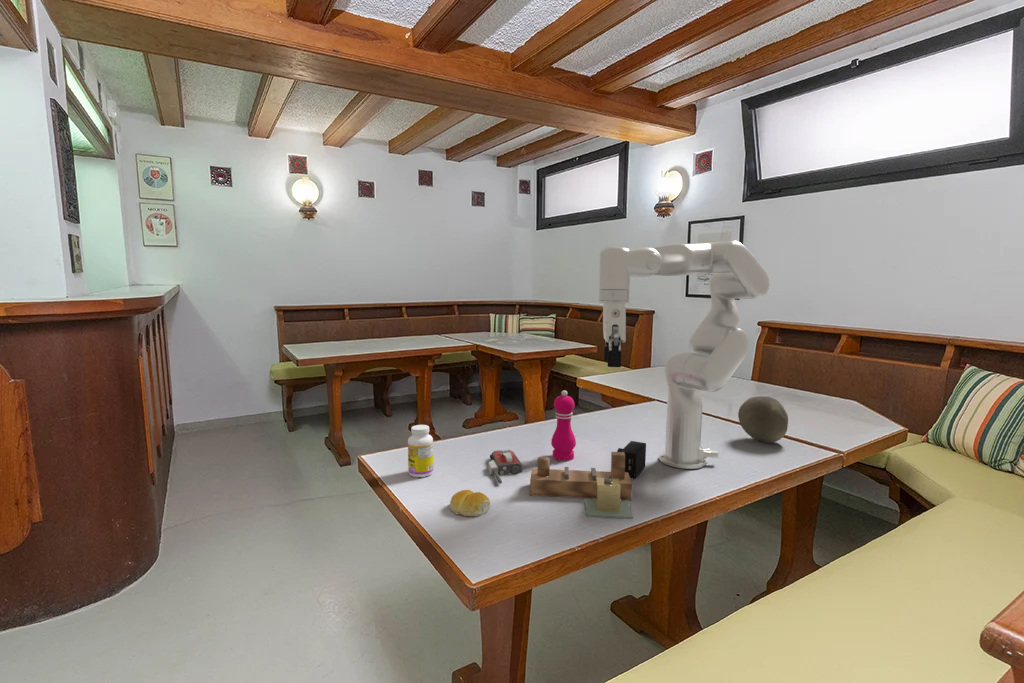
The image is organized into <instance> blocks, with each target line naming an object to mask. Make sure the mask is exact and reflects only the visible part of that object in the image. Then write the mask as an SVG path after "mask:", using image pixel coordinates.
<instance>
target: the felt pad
mask: <svg viewBox="0 0 1024 683" xmlns="http://www.w3.org/2000/svg"><path fill="white" fill-rule="evenodd" d="M584 503H585V504H584V506H585V515H586V517H588V518H589V517H590V518H611V519H612V518H613V519H627V518H628V519H629V518H631V519H630V520H633V519H634V515H633V512H632V509H631V505H630V502H629V500H620V512H604V511H597V508H596V498H584Z"/></svg>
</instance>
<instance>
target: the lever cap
mask: <svg viewBox="0 0 1024 683" xmlns="http://www.w3.org/2000/svg"><path fill="white" fill-rule="evenodd" d="M620 489H621V486H620V482H619V479H618V478H596V498H595V499H596V508H597V511H604V512H620V501H621V500H620Z"/></svg>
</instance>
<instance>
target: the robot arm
mask: <svg viewBox="0 0 1024 683" xmlns="http://www.w3.org/2000/svg"><path fill="white" fill-rule="evenodd" d="M704 274H712V276H711V278H710V280H709V292H710V300H711V304H710V309H709V311H708V312H707V314H706V316H705V317H704V318H703V320H702V321H701V323H700V324H699V325H698V327H697V328H696V329H695V331H694V332H693V333H692V335H691V336H690V339H689V341H688V342H689V343H688V344H689V345H688V346H689V348H690V350H691V352H687V351H679V352H674V353H673V354H671V355H670V356H668V358H667V359H666V361H665V364H664V376H665V383H666V394H667V396H666V398H667V400H666V416H665V417H666V420H665V421H666V422H665V424H666V425H665V441H664V442H665V447H664V449H665V450H664V451H662V452H660V454H659V455H658V456H659V458H658V459H659V461H660V462H661V463H662V464H664V465H667V466H669V467H672V468H677V469H684V470H685V469H687V470H693V469H695V470H697V469H701V468H703V467H705V465H706V463H707V462H706V459H707V458H712V459H714V458H715V459H718V458H719V452H718V451H717V450H711V448H702V446H701V441H702V427H703V426H702V424H703V422H702V421H703V406H704V404H703V398H702V394H701V392H700V391H702V392H706V393H707V392H708V393H717V392H718V391H720V390H721V389H723V388H724V387H725V386H726V385H727V383H728V382H729V381H730V379H731V378H732V376H733V374H734V373H735V371H737V369H738V368H739V366H740V365H741V363H742V362H743V361H744V359H745V357H746V355H747V352H748V350H749V338H748V335H747V333H746V332H745V330H743V329H742V328H739V327H737V326H738V324H739V321H740V313H739V308H738V307H737V303H736V299H737V300H739V299H740V300H742V299H743V300H756V299H757V300H758V299H760V298H762V297H764V296H765V295H766V294H767V293H768V291H769V287H770V278H769V275H768V273H767V271H766V270H765V268H764V267H763V265H761V263H760V262H759V260H758V259H757V258H756V256H754V254H753V253H752V252H751V251H750V250H749V249H748V248H747V247H746V246H745V245H744V244H742V242H740V241H737V240H728V241H717V242H715V241H714V242H698V243H695V242H694V243H675V244H668V245H662V246H656V247H650V246H649V247H647V246H644V247H643V246H642V247H633V248H632V247H631V248H630V247H629V248H627V247H623V246H611V247H605V248H602V249H601V251H600V253H599V278H598V279H599V280H598V281H599V282H598V284H599V285H598V287H599V288H598V303H601V304H603V305H602V306H603V308H602V310H603V311H602V313H603V314H602V329H603V333H602V334H603V339H604V340H605V342H604V348H603V350H604V351H603V352H604V354H603V356H604V357H603V358H604V361H605V362H607V367H608V368H620V367H622V347H621V346H622V345H621V344H622V343H626V341H627V324H626V323H627V316H626V315H627V309H626V304H628V303H629V304H630V285H631V284H630V282H631V281H630V278H647V277H651V276H659V277H660V276H664V277H678V276H692V275H704Z"/></svg>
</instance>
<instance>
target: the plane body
mask: <svg viewBox="0 0 1024 683" xmlns="http://www.w3.org/2000/svg"><path fill="white" fill-rule="evenodd" d="M610 456H611V457H610V458H611V459H610V460H611V461H610V471H603V470H602V471H601V470H600V471H599V470H597V469H596V467H591V468H590V470H576V469H575V470H574V469H570V467H569V466H564V469H555V468H554V469H551V468H550V457H549V456H539V457H537V459H536V460H537V461H536V462H537V464H536V465H537V466H536V468H531V472H530V480H529V483H530V484H529V495H530V496H533V497H534V496H538V497H539V496H540V497H541V496H542V497H557V498H558V497H559V498H560V497H561V498H580V499H596V478H618V479H619V482H620V486H621V489H620V501H632V500H633V499H632V498H633V482H632V479H631V478H630V476H629V473H628V472H625V454H624V452H617V451H611V455H610Z"/></svg>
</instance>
